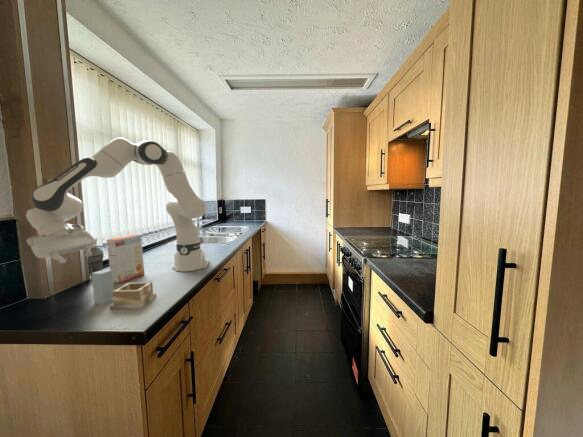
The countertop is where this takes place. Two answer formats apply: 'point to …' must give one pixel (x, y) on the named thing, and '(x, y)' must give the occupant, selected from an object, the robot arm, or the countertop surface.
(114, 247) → the cracker box
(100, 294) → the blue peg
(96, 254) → the beverage cup
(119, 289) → the cup collar
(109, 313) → the countertop surface
